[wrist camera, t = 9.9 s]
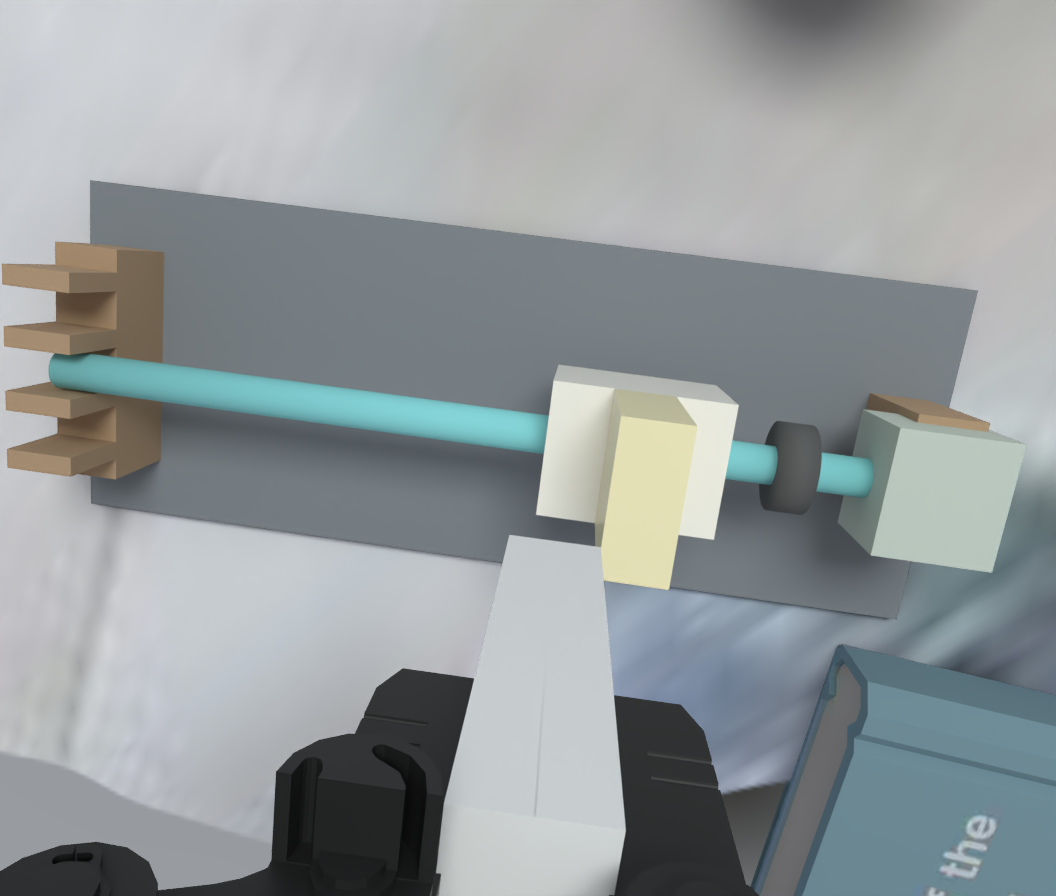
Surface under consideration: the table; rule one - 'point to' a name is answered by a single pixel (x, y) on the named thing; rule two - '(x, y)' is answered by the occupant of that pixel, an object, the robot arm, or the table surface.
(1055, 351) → the table surface
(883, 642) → the table surface
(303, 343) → the cord rig
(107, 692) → the table surface
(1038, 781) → the book
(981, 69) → the table surface
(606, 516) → the sliding rod collar
